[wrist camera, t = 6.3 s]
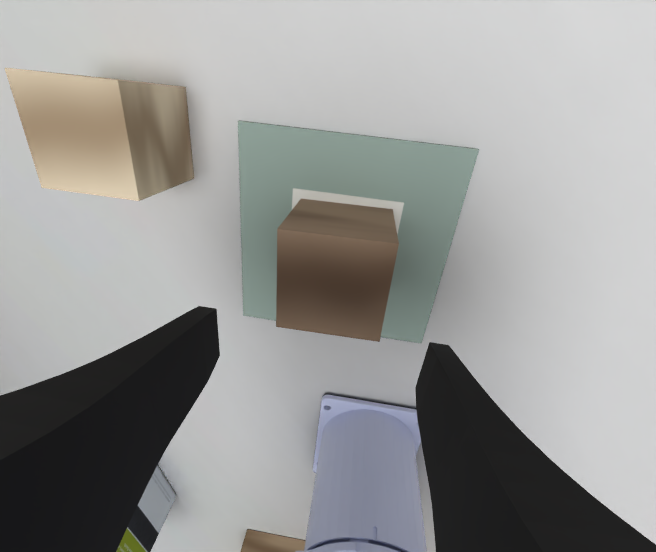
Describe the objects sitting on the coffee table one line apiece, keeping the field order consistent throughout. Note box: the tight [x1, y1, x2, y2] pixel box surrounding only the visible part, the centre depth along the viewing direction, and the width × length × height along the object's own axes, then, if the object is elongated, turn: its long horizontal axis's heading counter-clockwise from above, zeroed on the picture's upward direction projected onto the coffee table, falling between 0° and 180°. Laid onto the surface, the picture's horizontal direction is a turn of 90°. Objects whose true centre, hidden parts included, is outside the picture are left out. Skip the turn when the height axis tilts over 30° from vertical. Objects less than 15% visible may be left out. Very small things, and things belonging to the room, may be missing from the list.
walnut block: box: [276, 199, 399, 342], centre depth 17 cm, size 5×5×5 cm
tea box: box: [116, 465, 175, 552], centre depth 27 cm, size 15×10×15 cm
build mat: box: [238, 121, 479, 343], centre depth 19 cm, size 12×12×1 cm
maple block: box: [5, 68, 194, 201], centre depth 15 cm, size 4×4×5 cm
